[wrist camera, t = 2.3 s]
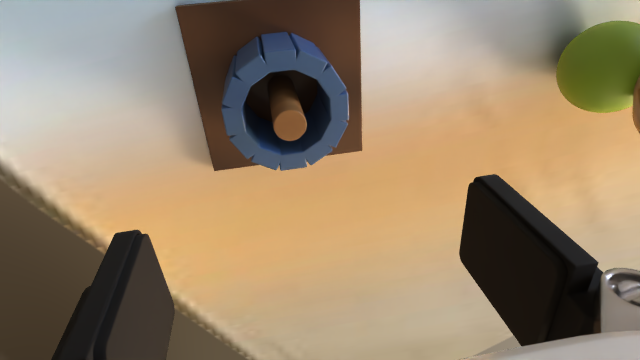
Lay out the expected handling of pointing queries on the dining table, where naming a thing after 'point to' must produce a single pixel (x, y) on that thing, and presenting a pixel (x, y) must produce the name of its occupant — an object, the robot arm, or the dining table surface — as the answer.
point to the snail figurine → (603, 69)
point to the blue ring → (259, 134)
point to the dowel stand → (276, 87)
